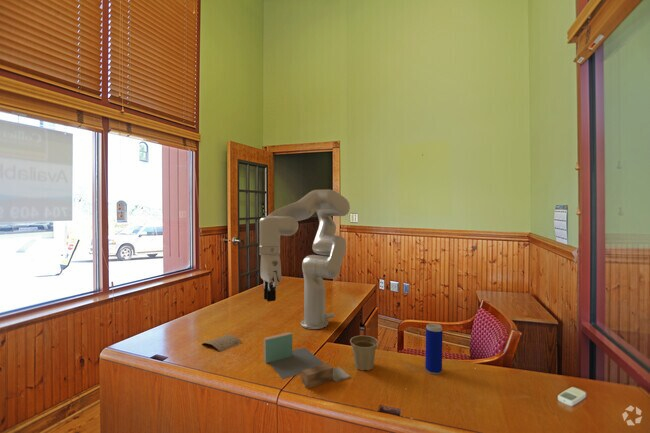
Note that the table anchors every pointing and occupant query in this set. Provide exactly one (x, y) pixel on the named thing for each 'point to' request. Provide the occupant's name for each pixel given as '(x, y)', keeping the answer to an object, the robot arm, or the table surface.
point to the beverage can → (434, 348)
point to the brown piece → (322, 375)
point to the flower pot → (364, 351)
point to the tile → (277, 347)
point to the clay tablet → (225, 342)
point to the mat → (295, 363)
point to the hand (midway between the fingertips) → (269, 299)
